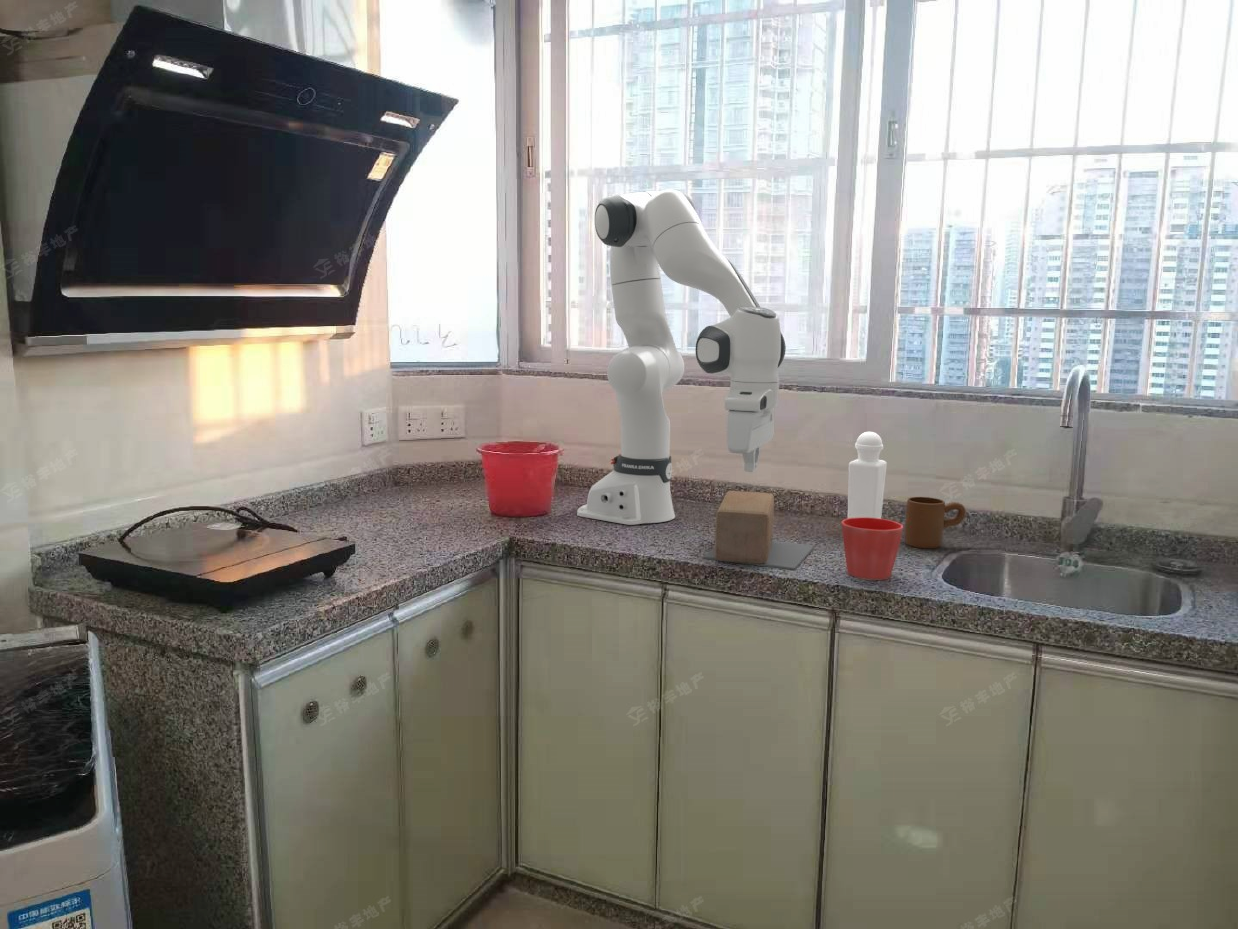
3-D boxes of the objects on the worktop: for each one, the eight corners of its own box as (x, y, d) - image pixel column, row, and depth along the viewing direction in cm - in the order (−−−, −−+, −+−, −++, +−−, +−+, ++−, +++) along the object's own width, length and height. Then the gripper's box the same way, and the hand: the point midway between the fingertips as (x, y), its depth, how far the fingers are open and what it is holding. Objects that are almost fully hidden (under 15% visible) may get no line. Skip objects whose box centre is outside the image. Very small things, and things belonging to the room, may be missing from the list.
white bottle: (873, 536, 203) (880, 434, 199) (844, 532, 206) (850, 431, 202) (882, 530, 208) (889, 431, 204) (853, 526, 211) (859, 428, 208)
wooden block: (769, 513, 176) (774, 492, 195) (715, 510, 178) (726, 489, 198) (766, 565, 178) (772, 539, 197) (713, 561, 180) (724, 536, 199)
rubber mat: (702, 558, 183) (702, 556, 183) (728, 537, 200) (729, 535, 200) (794, 570, 177) (794, 568, 177) (814, 547, 193) (814, 545, 193)
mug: (957, 541, 200) (960, 497, 199) (968, 550, 193) (972, 505, 191) (899, 539, 201) (902, 495, 199) (908, 548, 193) (912, 503, 192)
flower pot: (854, 563, 182) (857, 513, 181) (909, 574, 175) (912, 523, 174) (828, 574, 174) (831, 523, 173) (884, 586, 167) (888, 533, 166)
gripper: (752, 390, 185) (749, 460, 187) (721, 400, 166) (718, 478, 168) (784, 392, 182) (780, 463, 185) (756, 403, 164) (753, 481, 166)
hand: (750, 470), depth 176 cm, fingers closed
